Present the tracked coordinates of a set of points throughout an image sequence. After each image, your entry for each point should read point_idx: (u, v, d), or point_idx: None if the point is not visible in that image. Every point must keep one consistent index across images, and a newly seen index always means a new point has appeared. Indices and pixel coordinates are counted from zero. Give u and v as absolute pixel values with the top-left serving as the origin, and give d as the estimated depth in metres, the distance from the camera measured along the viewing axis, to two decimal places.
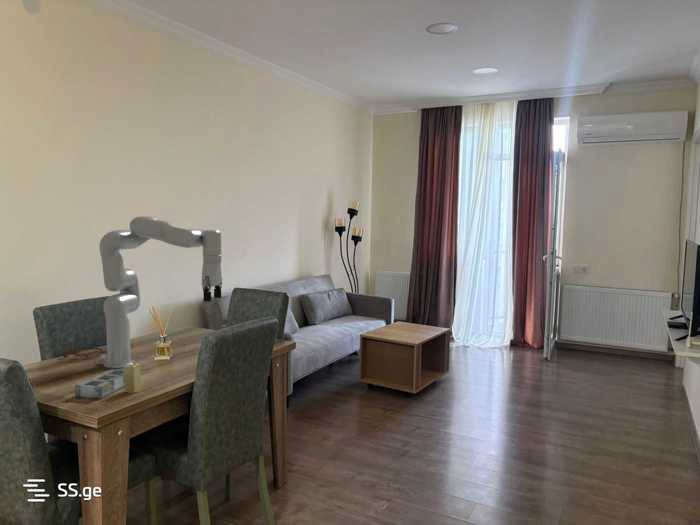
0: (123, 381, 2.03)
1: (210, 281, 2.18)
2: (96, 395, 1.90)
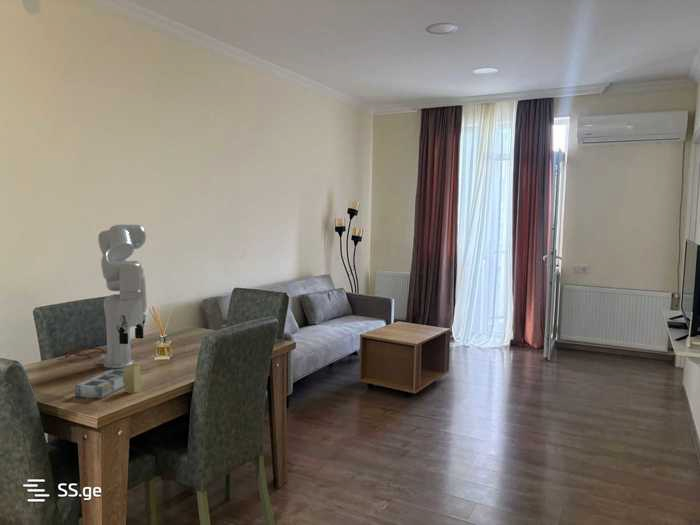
0: (123, 381, 2.03)
1: (126, 321, 1.92)
2: (96, 395, 1.90)
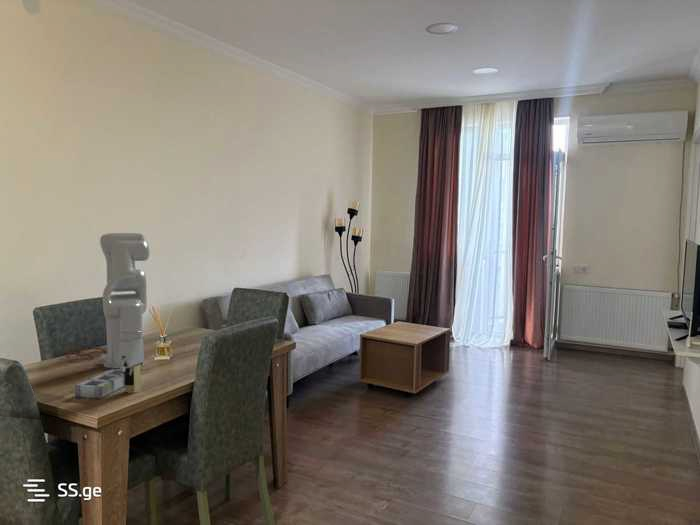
0: (123, 381, 2.03)
1: None
2: (96, 395, 1.90)
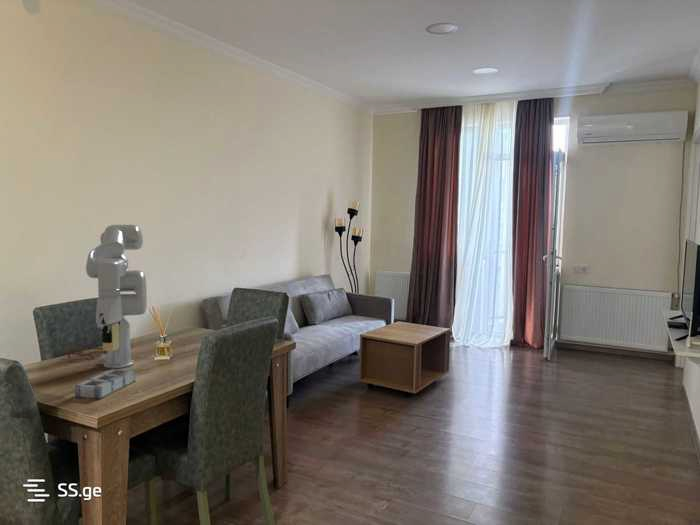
0: (123, 381, 2.03)
1: None
2: (96, 395, 1.90)
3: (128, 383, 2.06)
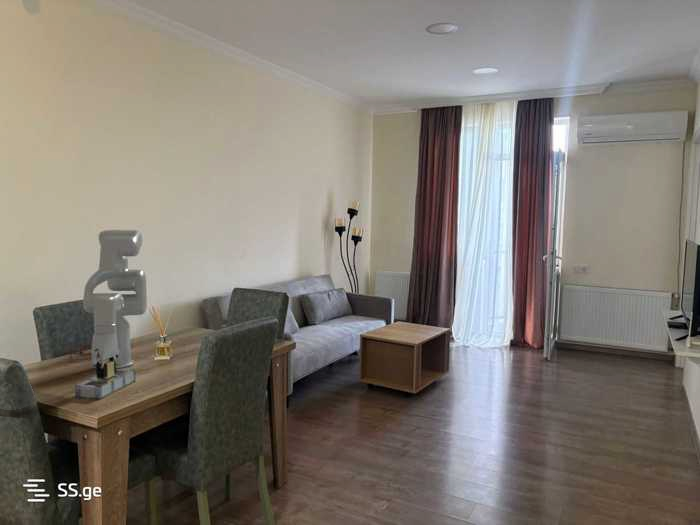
0: (123, 381, 2.03)
1: (101, 357, 1.95)
2: (96, 395, 1.90)
3: (128, 383, 2.06)
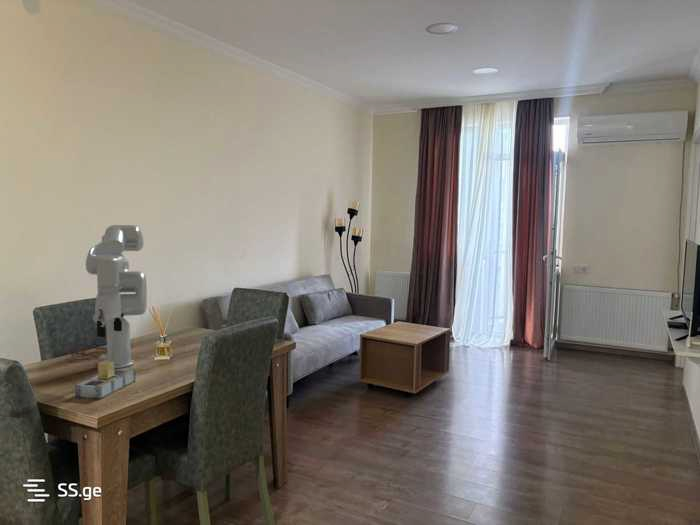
0: (123, 381, 2.03)
1: (104, 315, 1.96)
2: (96, 395, 1.90)
3: (128, 383, 2.06)
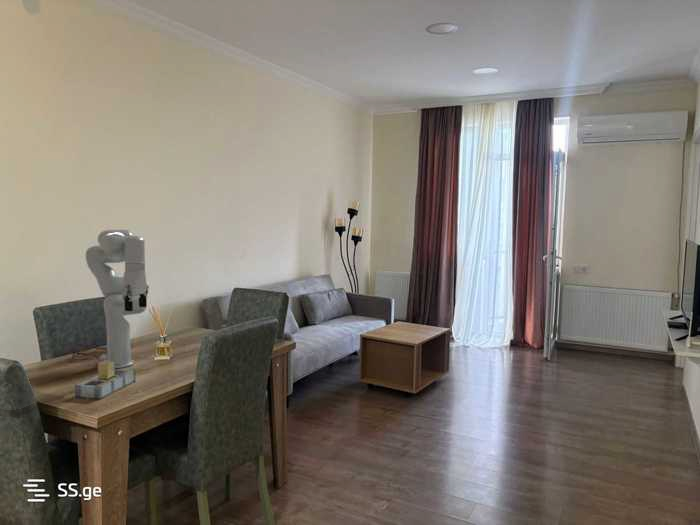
0: (123, 381, 2.03)
1: (131, 290, 2.09)
2: (96, 395, 1.90)
3: (128, 383, 2.06)
